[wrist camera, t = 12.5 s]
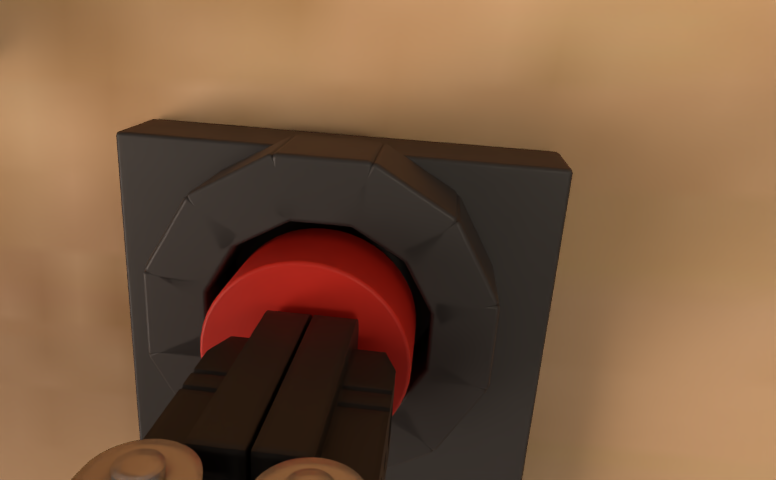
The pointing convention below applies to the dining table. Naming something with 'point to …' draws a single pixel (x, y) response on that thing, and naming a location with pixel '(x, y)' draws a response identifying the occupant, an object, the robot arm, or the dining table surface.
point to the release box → (378, 227)
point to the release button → (321, 294)
